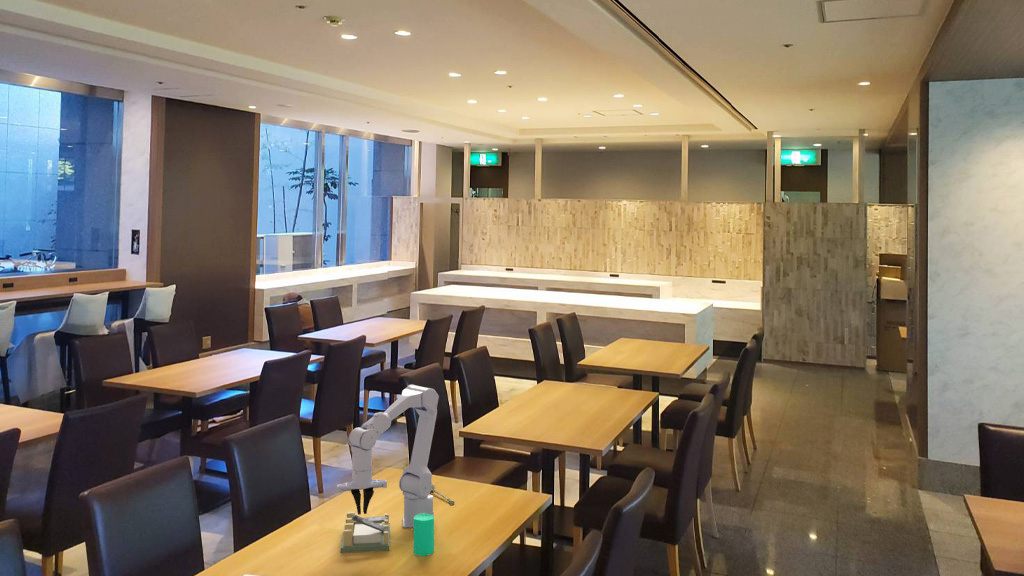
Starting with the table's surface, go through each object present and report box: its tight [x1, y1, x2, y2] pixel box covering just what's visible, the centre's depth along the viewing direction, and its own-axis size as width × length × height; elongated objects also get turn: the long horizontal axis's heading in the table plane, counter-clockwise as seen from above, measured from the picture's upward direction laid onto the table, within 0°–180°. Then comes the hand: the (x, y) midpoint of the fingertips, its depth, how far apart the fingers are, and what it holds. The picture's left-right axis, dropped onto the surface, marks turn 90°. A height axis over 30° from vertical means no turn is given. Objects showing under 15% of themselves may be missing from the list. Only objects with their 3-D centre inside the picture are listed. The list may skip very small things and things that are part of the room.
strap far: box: [354, 515, 388, 524], centre depth 232 cm, size 11×3×1 cm, turn 98°
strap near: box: [352, 513, 388, 532], centre depth 223 cm, size 11×3×1 cm, turn 101°
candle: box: [413, 513, 435, 557], centre depth 220 cm, size 6×6×12 cm
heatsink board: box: [340, 511, 391, 554], centre depth 228 cm, size 14×17×6 cm
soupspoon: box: [431, 483, 455, 506], centre depth 267 cm, size 22×3×7 cm
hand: (362, 513), depth 224 cm, fingers closed
